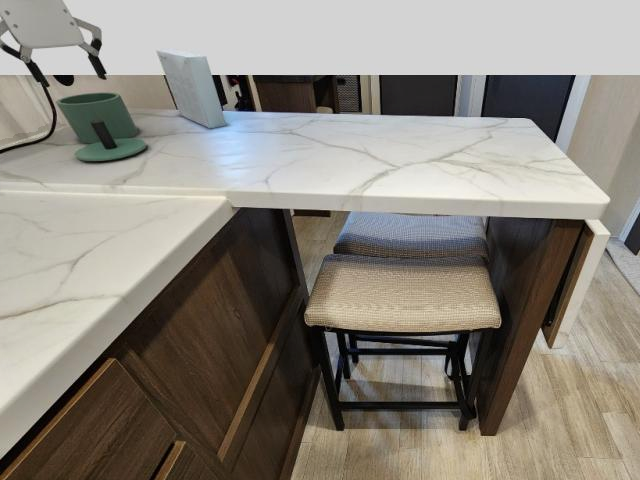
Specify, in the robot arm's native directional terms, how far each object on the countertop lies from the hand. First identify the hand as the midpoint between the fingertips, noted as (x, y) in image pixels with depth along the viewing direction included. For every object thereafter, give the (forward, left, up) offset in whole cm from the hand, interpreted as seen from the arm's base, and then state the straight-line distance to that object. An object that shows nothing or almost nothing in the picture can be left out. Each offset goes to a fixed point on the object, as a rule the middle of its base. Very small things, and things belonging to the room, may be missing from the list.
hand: (76, 82), depth 68 cm
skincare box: (+25, +11, -14) cm, 31 cm away
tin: (+2, +14, -14) cm, 20 cm away
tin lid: (-1, -1, -13) cm, 13 cm away
